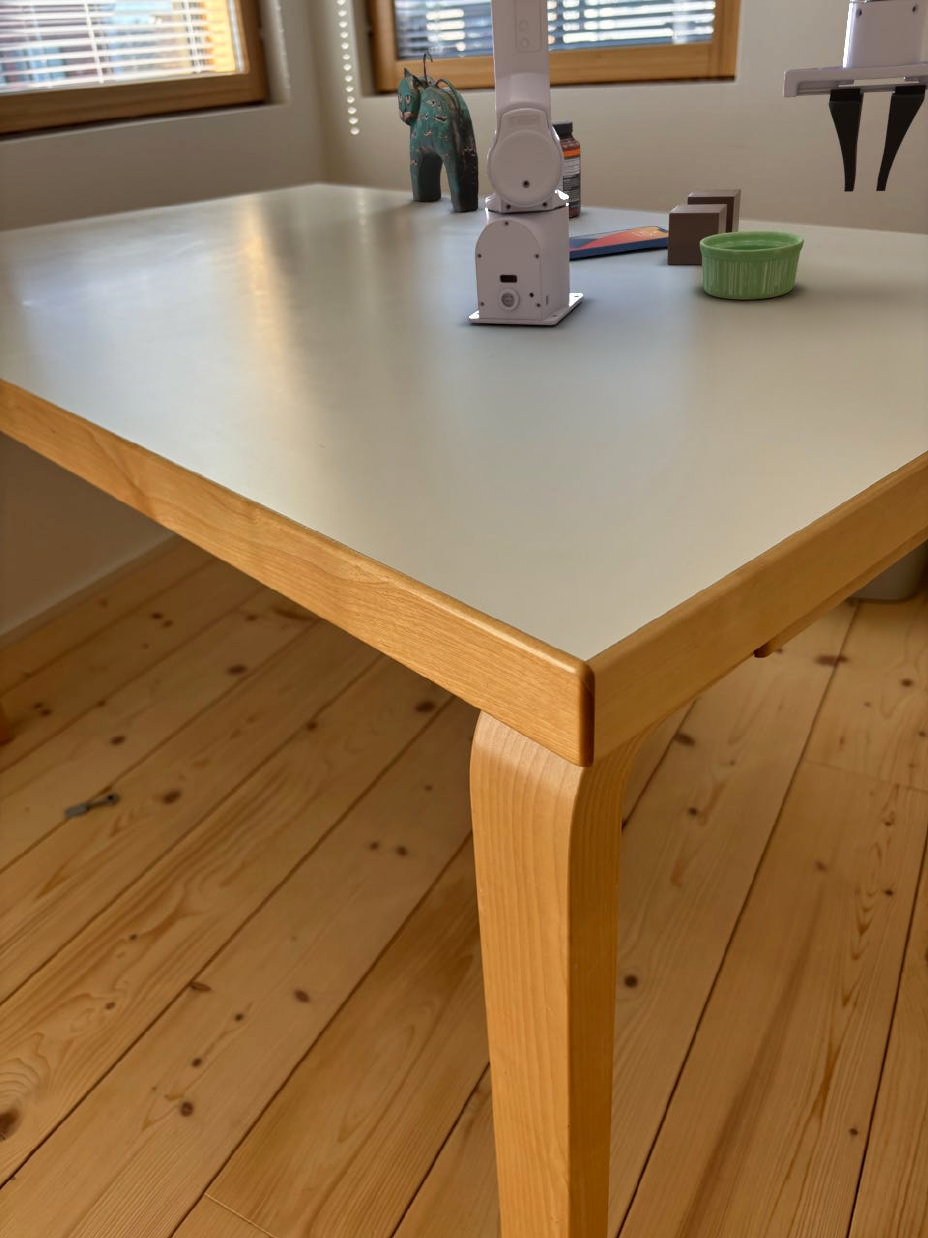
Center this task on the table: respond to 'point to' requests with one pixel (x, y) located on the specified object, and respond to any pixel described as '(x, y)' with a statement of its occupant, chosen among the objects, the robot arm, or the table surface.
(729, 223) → the walnut block far
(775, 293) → the ramekin
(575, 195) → the supplement bottle
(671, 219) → the walnut block near
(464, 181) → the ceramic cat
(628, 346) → the table surface
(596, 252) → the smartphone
